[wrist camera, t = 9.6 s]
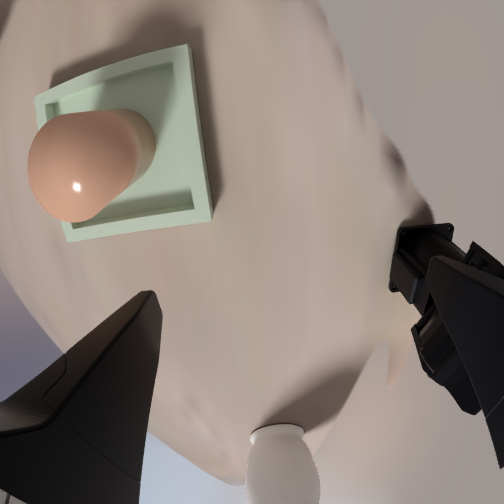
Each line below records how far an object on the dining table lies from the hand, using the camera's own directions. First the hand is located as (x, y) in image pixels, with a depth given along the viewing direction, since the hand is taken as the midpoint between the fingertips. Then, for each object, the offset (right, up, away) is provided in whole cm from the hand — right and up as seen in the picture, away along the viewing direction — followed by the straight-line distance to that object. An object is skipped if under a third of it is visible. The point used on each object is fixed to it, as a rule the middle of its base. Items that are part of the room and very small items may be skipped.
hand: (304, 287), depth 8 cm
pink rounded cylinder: (-11, +8, +9) cm, 16 cm away
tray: (-11, +9, +10) cm, 17 cm away
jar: (+2, -27, +30) cm, 40 cm away
